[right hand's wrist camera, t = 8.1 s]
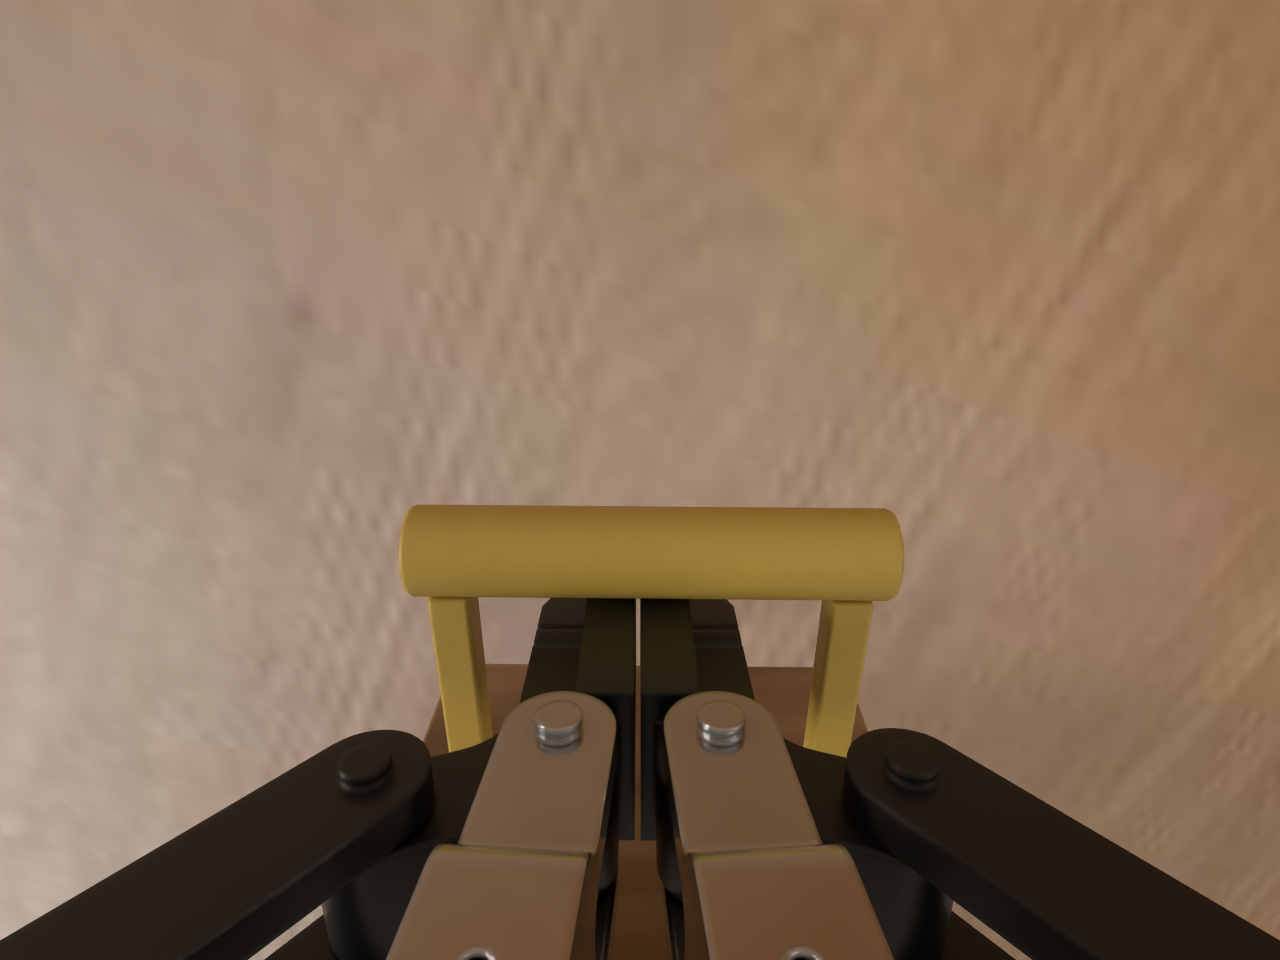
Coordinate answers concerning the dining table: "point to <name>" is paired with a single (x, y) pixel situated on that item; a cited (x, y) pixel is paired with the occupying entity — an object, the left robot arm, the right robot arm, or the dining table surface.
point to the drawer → (651, 569)
